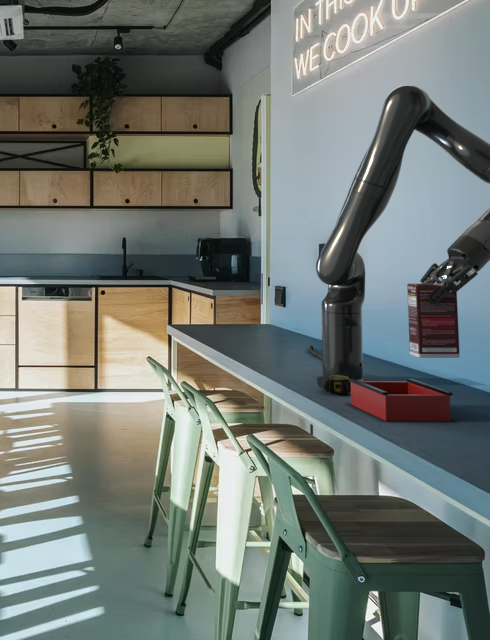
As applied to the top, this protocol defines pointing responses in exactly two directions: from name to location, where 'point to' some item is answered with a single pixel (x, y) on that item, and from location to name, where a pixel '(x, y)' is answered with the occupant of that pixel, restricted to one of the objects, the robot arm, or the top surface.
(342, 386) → the tape measure
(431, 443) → the top surface
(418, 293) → the supplement box
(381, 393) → the open red box
